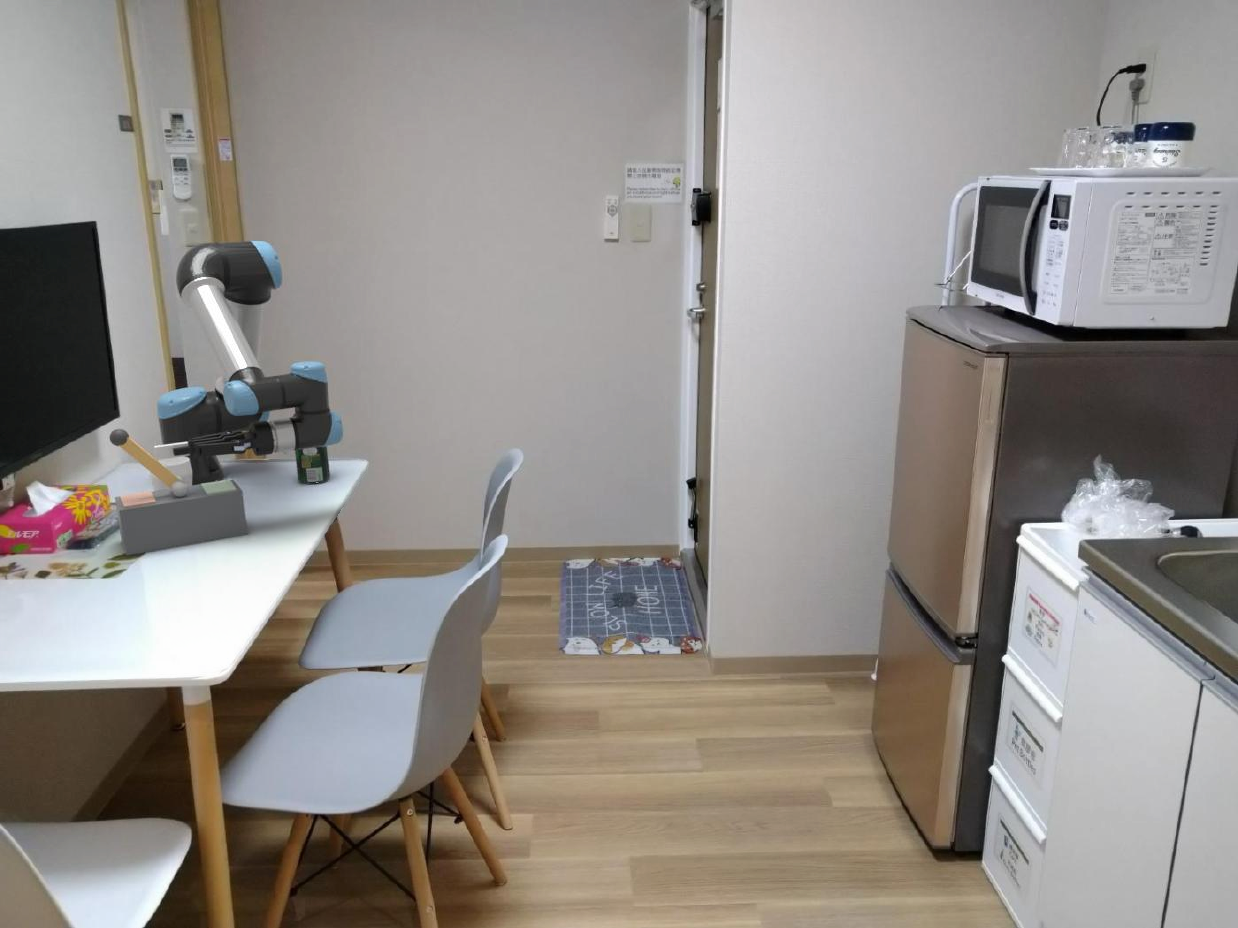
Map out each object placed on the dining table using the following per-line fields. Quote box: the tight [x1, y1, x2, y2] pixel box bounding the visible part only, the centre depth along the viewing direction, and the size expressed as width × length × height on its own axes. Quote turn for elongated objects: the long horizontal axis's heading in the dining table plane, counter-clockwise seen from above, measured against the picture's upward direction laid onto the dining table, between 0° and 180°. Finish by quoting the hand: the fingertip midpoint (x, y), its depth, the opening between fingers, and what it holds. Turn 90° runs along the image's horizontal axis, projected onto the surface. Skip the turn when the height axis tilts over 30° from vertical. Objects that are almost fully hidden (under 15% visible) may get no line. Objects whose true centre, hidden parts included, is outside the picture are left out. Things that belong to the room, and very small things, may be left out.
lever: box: [109, 428, 188, 497], centre depth 199 cm, size 6×4×19 cm
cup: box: [149, 456, 192, 491], centre depth 223 cm, size 9×9×12 cm
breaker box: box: [114, 479, 248, 557], centre depth 205 cm, size 10×24×10 cm, turn 122°
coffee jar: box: [292, 412, 331, 484], centre depth 245 cm, size 10×8×19 cm
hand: (155, 453), depth 199 cm, fingers closed
